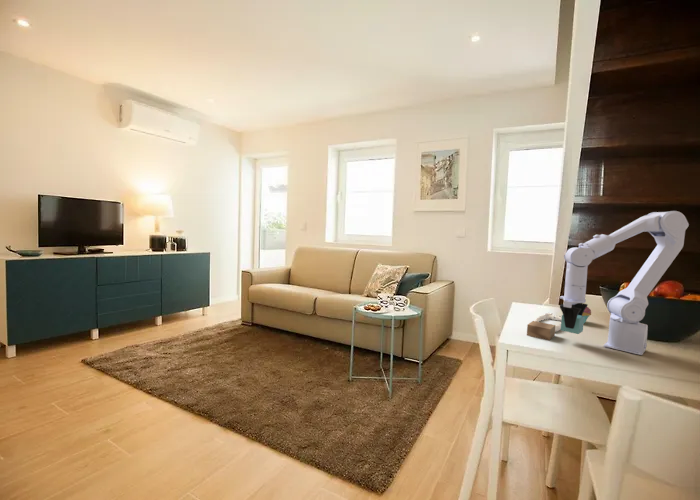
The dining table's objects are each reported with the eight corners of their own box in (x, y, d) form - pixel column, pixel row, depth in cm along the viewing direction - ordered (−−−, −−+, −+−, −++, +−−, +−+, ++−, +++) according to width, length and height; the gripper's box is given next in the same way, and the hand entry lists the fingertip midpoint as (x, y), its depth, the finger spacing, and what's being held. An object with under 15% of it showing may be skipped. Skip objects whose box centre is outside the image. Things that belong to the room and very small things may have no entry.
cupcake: (595, 325, 135) (598, 294, 134) (573, 324, 135) (576, 294, 134) (581, 319, 144) (583, 290, 143) (560, 318, 144) (562, 289, 143)
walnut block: (554, 336, 120) (555, 325, 120) (549, 341, 115) (550, 329, 115) (532, 331, 125) (533, 320, 125) (526, 336, 120) (527, 324, 119)
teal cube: (582, 331, 113) (584, 316, 113) (578, 334, 110) (579, 318, 109) (565, 327, 117) (566, 312, 116) (560, 330, 113) (561, 315, 113)
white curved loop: (570, 322, 140) (558, 335, 122) (543, 317, 147) (527, 329, 128) (571, 315, 140) (559, 328, 121) (544, 311, 147) (528, 322, 128)
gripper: (568, 281, 120) (565, 319, 121) (554, 285, 110) (550, 327, 111) (592, 284, 115) (589, 324, 116) (580, 288, 105) (576, 332, 106)
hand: (572, 326), depth 113 cm, fingers closed on teal cube, 5 cm apart
